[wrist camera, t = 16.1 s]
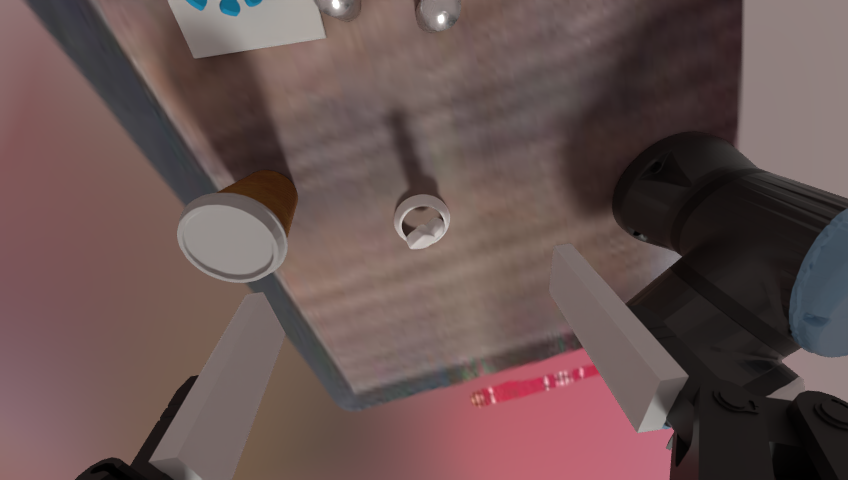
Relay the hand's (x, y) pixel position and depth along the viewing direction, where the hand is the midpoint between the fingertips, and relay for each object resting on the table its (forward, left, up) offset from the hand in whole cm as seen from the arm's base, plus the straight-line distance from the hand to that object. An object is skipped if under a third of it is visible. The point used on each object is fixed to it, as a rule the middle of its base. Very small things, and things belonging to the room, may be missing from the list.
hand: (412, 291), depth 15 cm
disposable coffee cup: (+17, +4, -27) cm, 32 cm away
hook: (-1, +11, -27) cm, 29 cm away
